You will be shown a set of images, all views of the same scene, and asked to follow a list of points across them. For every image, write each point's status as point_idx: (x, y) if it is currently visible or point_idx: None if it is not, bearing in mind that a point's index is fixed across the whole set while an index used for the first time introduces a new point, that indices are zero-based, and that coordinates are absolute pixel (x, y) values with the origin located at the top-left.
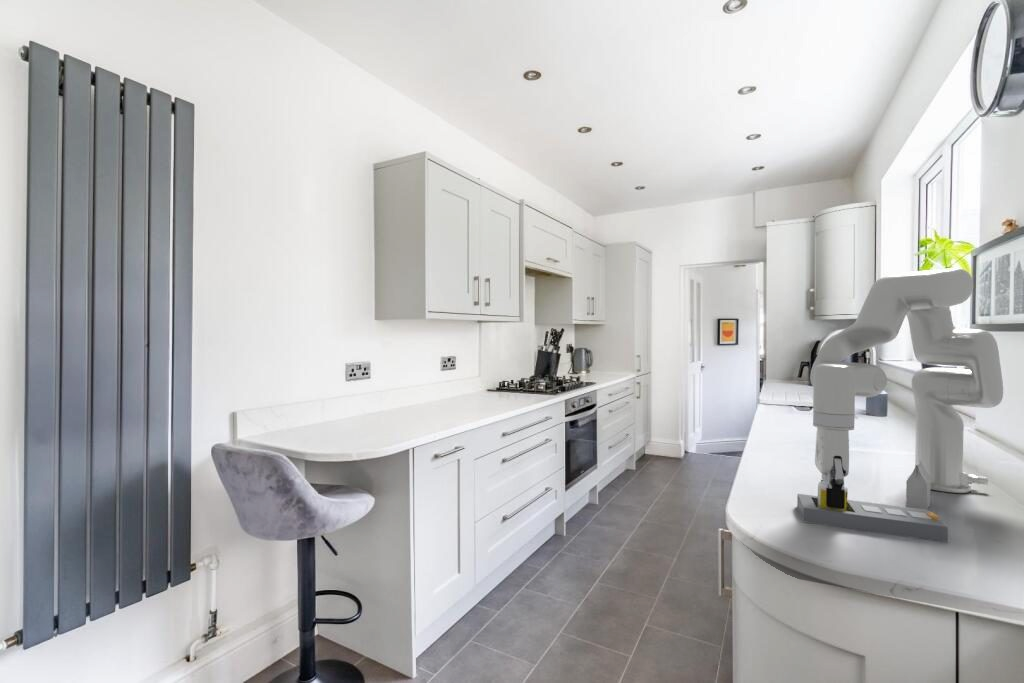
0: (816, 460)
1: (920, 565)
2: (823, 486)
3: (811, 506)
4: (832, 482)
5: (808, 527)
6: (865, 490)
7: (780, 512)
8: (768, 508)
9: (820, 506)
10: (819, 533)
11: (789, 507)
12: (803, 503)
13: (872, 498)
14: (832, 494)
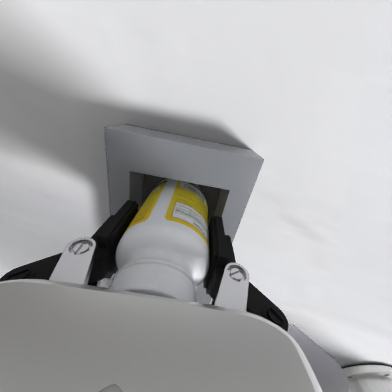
0: (187, 374)
1: (7, 244)
2: (130, 234)
3: (130, 158)
4: (14, 270)
5: (86, 122)
6: (359, 312)
7: (185, 72)
8: (218, 33)
9: (161, 189)
10: (56, 136)
11: (240, 122)
12: (152, 142)
13: (312, 304)
14: (96, 234)
